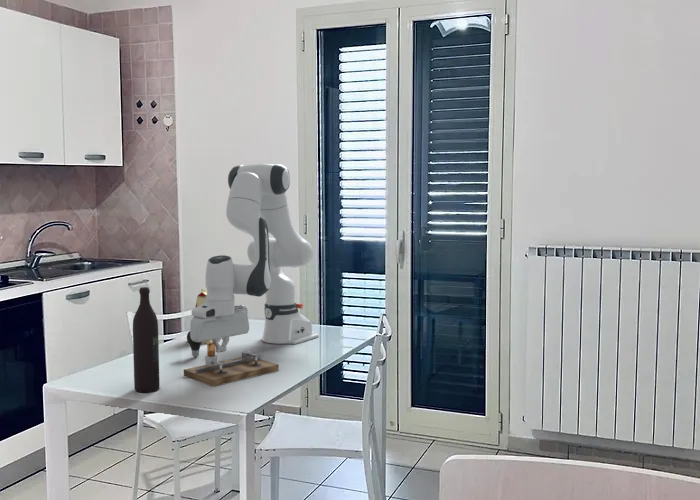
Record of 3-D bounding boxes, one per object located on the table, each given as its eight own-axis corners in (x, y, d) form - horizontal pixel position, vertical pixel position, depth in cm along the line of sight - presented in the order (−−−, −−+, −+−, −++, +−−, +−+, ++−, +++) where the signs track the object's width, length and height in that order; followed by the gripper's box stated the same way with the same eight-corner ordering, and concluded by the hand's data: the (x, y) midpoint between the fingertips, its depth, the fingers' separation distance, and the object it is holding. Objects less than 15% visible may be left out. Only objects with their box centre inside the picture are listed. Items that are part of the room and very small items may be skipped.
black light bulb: (199, 359, 242) (199, 330, 241) (184, 359, 243) (183, 330, 242) (206, 355, 247) (205, 327, 246) (191, 355, 248) (190, 326, 247)
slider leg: (212, 367, 223) (211, 341, 222) (224, 371, 219) (224, 345, 218) (205, 368, 222) (205, 343, 221) (218, 373, 217) (217, 346, 216)
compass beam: (256, 358, 236) (256, 349, 235) (269, 362, 231) (269, 352, 231) (194, 372, 218) (194, 362, 218) (206, 376, 214) (206, 366, 214)
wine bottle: (157, 392, 204) (154, 289, 201) (132, 393, 204) (129, 289, 201) (161, 385, 211) (159, 285, 208) (137, 386, 211) (134, 286, 208)
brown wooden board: (247, 361, 240) (247, 355, 240) (278, 370, 229) (278, 364, 228) (183, 375, 222) (183, 369, 222) (213, 386, 211) (213, 379, 211)
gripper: (241, 303, 232) (241, 344, 233) (186, 310, 217) (187, 355, 218) (253, 305, 227) (253, 347, 229) (198, 313, 213) (199, 359, 214)
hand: (220, 351), depth 223 cm, fingers closed
